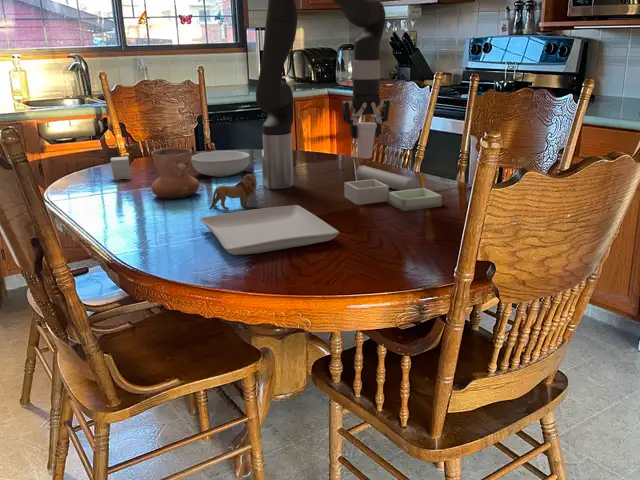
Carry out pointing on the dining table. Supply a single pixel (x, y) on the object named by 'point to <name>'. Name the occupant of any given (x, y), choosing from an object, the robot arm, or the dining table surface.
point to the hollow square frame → (366, 191)
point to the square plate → (268, 229)
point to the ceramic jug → (173, 173)
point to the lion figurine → (235, 191)
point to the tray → (414, 199)
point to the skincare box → (120, 168)
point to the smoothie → (365, 138)
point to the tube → (386, 178)
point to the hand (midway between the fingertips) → (365, 137)
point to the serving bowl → (220, 162)
